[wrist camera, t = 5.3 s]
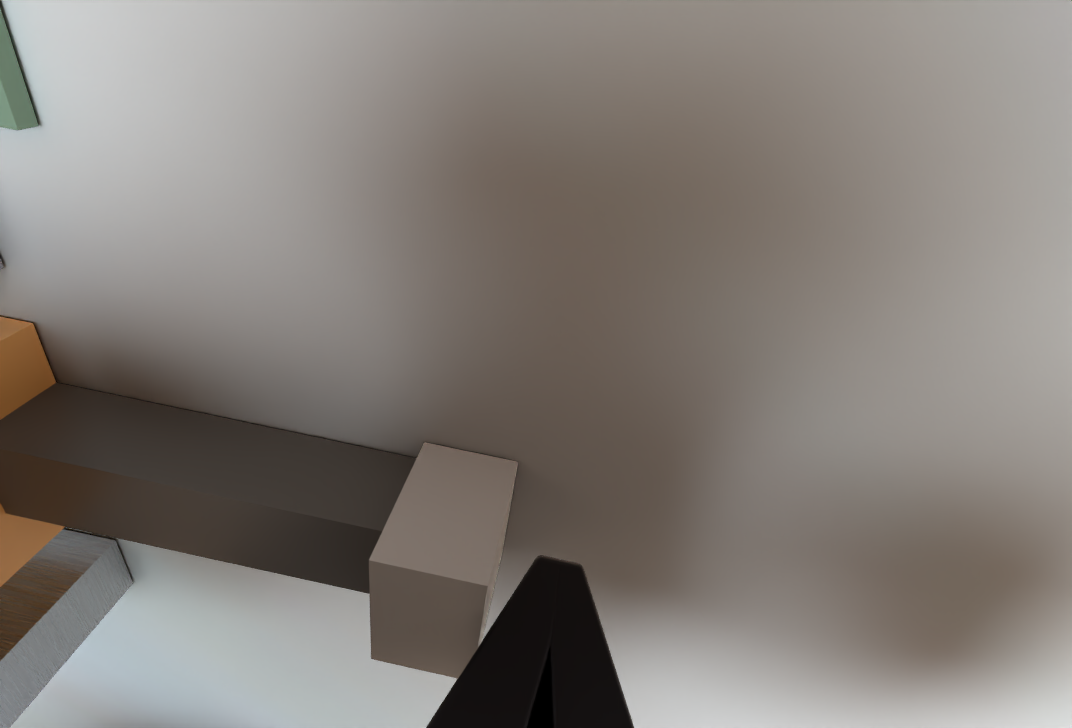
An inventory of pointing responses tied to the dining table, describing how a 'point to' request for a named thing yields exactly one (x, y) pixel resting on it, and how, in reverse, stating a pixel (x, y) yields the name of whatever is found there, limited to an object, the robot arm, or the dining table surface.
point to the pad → (13, 87)
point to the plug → (257, 502)
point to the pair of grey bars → (53, 611)
